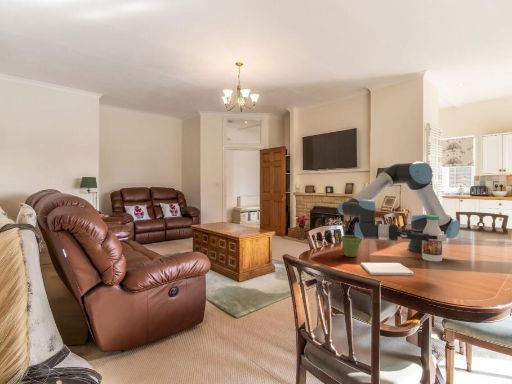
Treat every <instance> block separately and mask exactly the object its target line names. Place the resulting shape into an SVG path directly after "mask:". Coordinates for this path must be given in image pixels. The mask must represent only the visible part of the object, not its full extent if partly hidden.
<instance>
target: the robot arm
mask: <svg viewBox="0 0 512 384" xmlns="http://www.w3.org/2000/svg"><path fill="white" fill-rule="evenodd" d="M433 176H434V174H433V168H432V167H431V165H430V164H429V163H427V162H425V161H412V162H398V163H395V164H392V165H391V166H389V167H387V168H386V169H384V170H382V171H381V172H380V173H378V175H377V177H376V178H375V179H373V181H371V182H370V183H369V184H367V185H366V186H365V187H364V188H362V189H361V190H360V191H359V192H357V193H356V194H355V195H354V196H352V197H351V198H350V199H348V200H347V201H344V200H343V201H340V202H339V203H338V205H337V211H338V213H339V214H340V215H342V216H344V217H345V216H346V217H353V218H358V220H359V222H356V223H355V224H354V236H356V237H358V238H361V239H364V240H365V239H368V240H380V241H381V242H384V241H388V240H389V241H392V242H393V241H395V242H397V241H398V240H399V239H398V238H401V239H403V240H405V239H406V240H409V242H408V245H407V249H408V250H409V251H412V252H416V253H421V254H422V240H424V241H427V242H429V240H436V241H442V242H447V239H449V240H453V239H455V238H457V236H458V235H459V232H460V230H461V223H460V221H459V220H458V219H456V218H452V216H451V215H450V213H448V212H446V211H445V209H444V208H443V205H442V204H441V202H440V200H439V198H438V196H437V194H436V192H435V191H434V189H433V186H432V185H431V183H432V181H433ZM396 184H406V185H407V187H408V188H409V189H410V190H411V191H414V193H415V195H416V197H417V198H418V200H419V202H420V204H421V205H422V208H423V209H424V211H425V213H423V214H422V213H421V214H419V213H418V214H413V215H411V219H410V223H411V225H410V227H411V228H402V229H399V227H398V225H397V224H384V223H376V210H377V209H376V208H377V207H376V201H375V200H373V199H374V198H376V197H377V196H378V195H379V194H380V193H382V192H384V190H385V189H386V188H390V187H391V188H392V186H393V185H396ZM428 215H433V216H438V217H439V219H438V225H439V228H440V230H441V232H442V234H423V230H424V228H425V226H426V224H427V216H428Z"/></svg>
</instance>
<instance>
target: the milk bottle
mask: <svg viewBox="0 0 512 384" xmlns="http://www.w3.org/2000/svg"><path fill="white" fill-rule="evenodd" d="M438 219H439V217H438V216H433V215H428V216H427V224H426V226H425V228H424V230H423V234H442V232H441V230H440V228H439V225H438ZM421 258H422V259H423V260H425V261H428V262H441V261H443V241H436V240H429V242H427V241H424V240H422V253H421Z"/></svg>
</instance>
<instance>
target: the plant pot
mask: <svg viewBox="0 0 512 384" xmlns="http://www.w3.org/2000/svg"><path fill="white" fill-rule="evenodd" d="M340 238H341V242H342V247H343V253H344V256H346V257H349V258H352V257H357V256H358V254H359V253H358V252H359V246H360V242H361V239H362V238H358V237H356V236H355V235H353V234H352V235H350V234H348V235H345V234H344V235H341V236H340Z"/></svg>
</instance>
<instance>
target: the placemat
mask: <svg viewBox="0 0 512 384" xmlns="http://www.w3.org/2000/svg"><path fill="white" fill-rule="evenodd" d="M360 266H361V267H362V268H363V269H364V270H365V271H366V272H367V273H369V275H371V276H415V272H413V271H412V270H410V269H409V268H408V267H406V266H404V265H403V264H401V263H400V262H360Z"/></svg>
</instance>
